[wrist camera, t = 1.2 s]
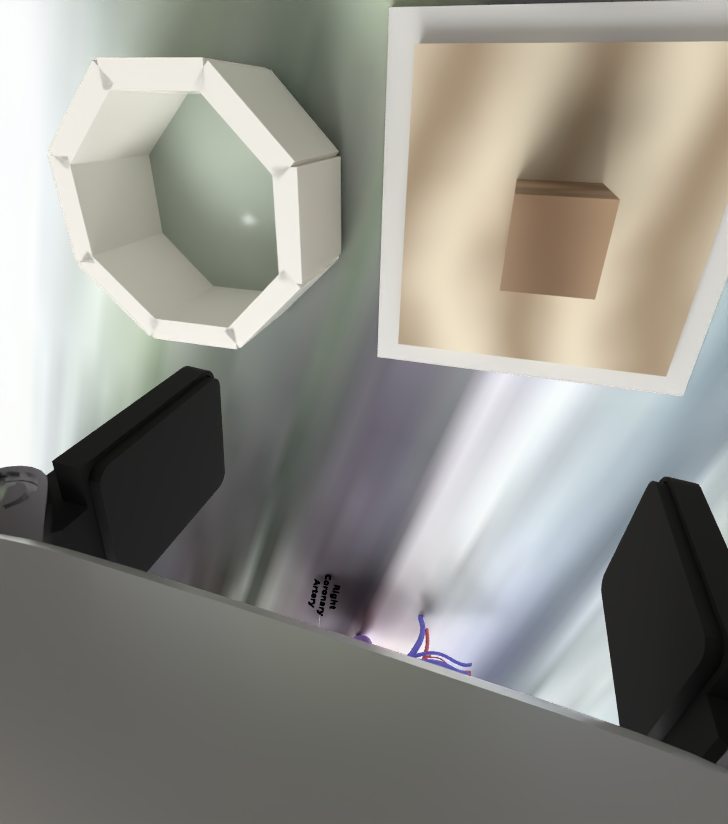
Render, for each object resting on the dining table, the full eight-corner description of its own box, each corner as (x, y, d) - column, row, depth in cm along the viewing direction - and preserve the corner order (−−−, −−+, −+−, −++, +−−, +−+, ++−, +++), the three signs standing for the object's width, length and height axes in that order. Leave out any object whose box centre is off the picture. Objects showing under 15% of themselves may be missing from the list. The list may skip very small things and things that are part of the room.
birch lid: (774, 43, 22) (857, 21, 16) (662, 369, 29) (692, 428, 24) (418, 45, 25) (388, 27, 19) (401, 337, 32) (376, 383, 27)
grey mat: (827, -1, 21) (833, -4, 20) (680, 392, 30) (682, 396, 30) (391, 9, 25) (389, 7, 24) (379, 353, 34) (377, 356, 34)
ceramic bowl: (343, 69, 27) (292, 57, 21) (344, 314, 33) (305, 358, 27) (122, 68, 29) (21, 57, 24) (163, 294, 36) (93, 330, 30)
